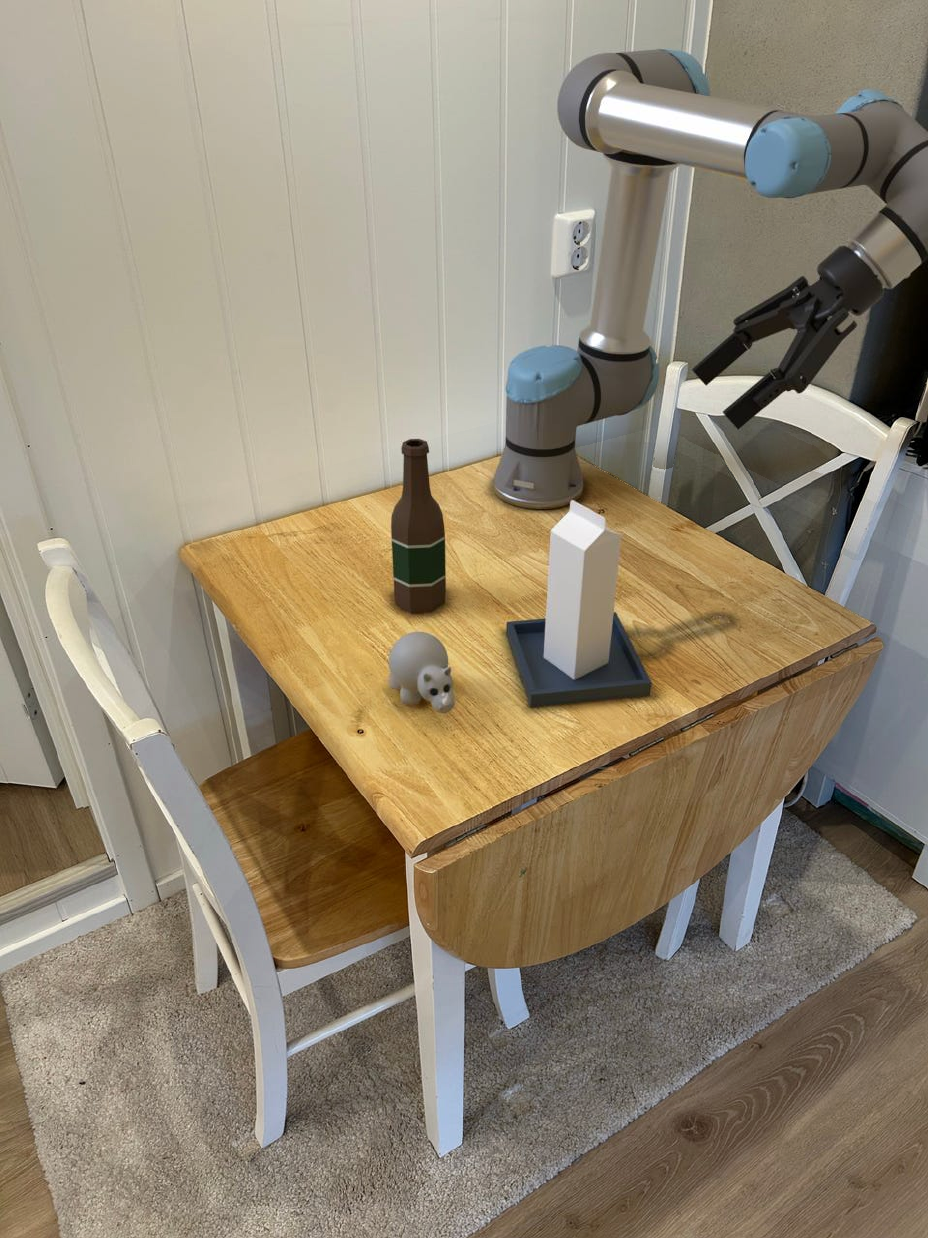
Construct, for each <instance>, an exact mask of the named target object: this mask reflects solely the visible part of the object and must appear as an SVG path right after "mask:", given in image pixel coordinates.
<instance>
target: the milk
mask: <svg viewBox="0 0 928 1238" xmlns="http://www.w3.org/2000/svg"><path fill="white" fill-rule="evenodd" d="M549 536H550V538H549V552H548V553H549V554H548V570H547V571H548V573H547V590H546V592H547V593H546V605H545V606H546V609H545V618H546V624H545V641H544V658H545V659H546V660H548V661H549V662H550V663H552V664H553V665H554V666H556V667H557V668H558V669H560V670H561V671H563V672H564V673H565V674H567V675H568V676H569V677H571V678H572V679H574V680H576V679H578V678H580V677H581V676H583V675H585V674H587V673H589V672H591V671H593V670H595V669H597V668H599V667H601V666H603V665H605V664H607V663H608V661H609V652H610V643H611V633H612V624H613V614H614V612H615V604H616V603H615V602H616V596H617V595H616V593H617V584H618V577H619V576H618V575H619V566H620V557H621V547H622V539H623V535H622V534H621V533H618V532H616V531H615V530H613V529H611V527H610V528H609V527H608V526H607V520H606V517H605V516H603V515H601V514H599V513H598V512H595V511H594V510H593V509H590V508H588V507H586V506H585V505H583V504H581V503H579V502H577V501H574V500H571V502H570V504H569V511H568V512H567V513H566V514H565V515H564V516H563V517H562V518H561V519H560V520H559V521H558V522H557V523H556V524H555V526H553V527H552V528H551V529H550V535H549Z"/></svg>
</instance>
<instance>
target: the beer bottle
mask: <svg viewBox="0 0 928 1238" xmlns="http://www.w3.org/2000/svg"><path fill="white" fill-rule="evenodd" d="M400 451H401V454H402V455H403V470H402V471H403V472H402V491H401V497H400V498H399V499H398V501H397V503H396V504H395V505H394V507H393V511H392V514H391V519H390V532H391V557H392V574H393V595H394V602H395V606H396V607H398V608H400V609H402V610H404V611H406V612H408V613H410V614H422V613H425V614H426V613H432V612H434V611H436V610H437V609H439V608H441V607H442V606H443V605H445V603H446V598H447V597H446V596H447V580H446V579H447V576H446V575H447V574H446V573H447V570H446V569H447V568H446V532H445V522H444V515H443V511H442V509H441V506H440V504H439V502H437V501H436V499H435V498H434V497H433V495H432V491H431V484H430V474H429V473H430V472H429V463H428V454H429V453H430V447H429V444H428V441H427V440H424V439H421V438H409V439H407V440H405V441H403V442H402V445H401V449H400Z"/></svg>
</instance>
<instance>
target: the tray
mask: <svg viewBox="0 0 928 1238" xmlns="http://www.w3.org/2000/svg"><path fill="white" fill-rule="evenodd" d="M545 624H546V617H545V618H534V619H533V618H531V619H522V620H512V621H506V623H505V625H506V626H505V627H506V629H505V635H506V638H507V641H508V644H509V647H510V650H511V654H512V656H513V660H514V662H515V665H516V668H517V671H518V674H519V678H520V680H521V683H522V687H523V690H524V692H525V695H526V698H527V701H528V704H529V707H530V708H531V709H535V708H542V707H543V708H544V707H552V706H562V705H574V704H583V703H591V702H600V701H602V702H603V701H612V700H622V699H632V698H640V697H641V698H643V697H651V692H652V685H653V682H652V679H651V678H650V676H649V674H648V672H647V670H646V668H645V666H644V664H643V663H642V661H641V658H640V657H639V654H638V652H637V650H636V649H635V647H634V645H633V643H632V641H631V639H630V637H629V634H628V633H627V631H626V629H625V627H624V625H623V624H622V621H621V620H620V617H619V615H618V614H617V612H616V611H614V614H613V624H612V633H611V643H610V652H609V661H608V663H607V664H605V665H603V666H601V667H599V668H597V669H595V670H593V671H591V672H589V673H587V674H585V675H583V676H581V677H580V678H578V679H576V680H574V679H572V678H571V677H569V676H568V675H567V674H565V673H564V672H563V671H561V670H560V669H558V668H557V667H556V666H554V665H553V664H552V663H550V662H549V661H548V660H546V659H545V658H544V641H545Z"/></svg>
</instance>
